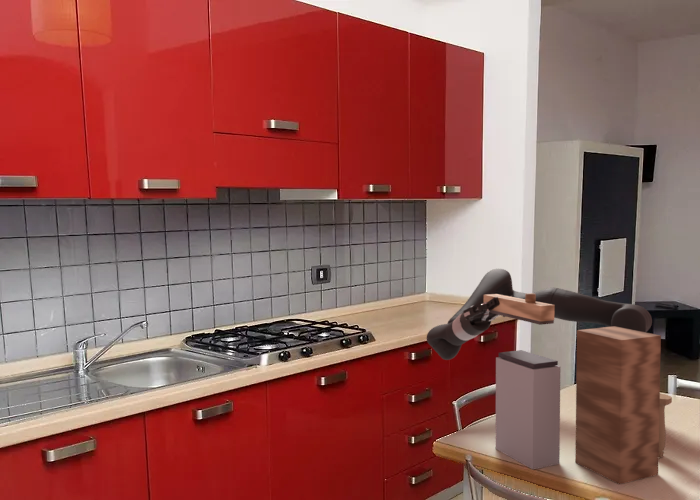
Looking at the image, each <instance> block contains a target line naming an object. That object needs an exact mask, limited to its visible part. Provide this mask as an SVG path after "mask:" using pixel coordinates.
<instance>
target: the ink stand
mask: <svg viewBox="0 0 700 500" xmlns="http://www.w3.org/2000/svg"><path fill="white" fill-rule="evenodd" d="M558 362H559V360H556V359H552V358H550V357H546V356H543V355H539V354H535V353H533V352H529V351H526V350H511V351H503V352H498V357H497V356H496V357H495V450H497V451H499V452H500V453H502V454H504V455H506V456H508V457H510V458H511V459H513V460H515V461H517V462H519V463H520V464H522V465H524V466H526V467H528V468H529V469H531V470H537V469H541V468H546V467H551V466H555V465H559V464H560V457H561V456H560V455H561V454H560V450H561V447H560V446H561V444H560V443H561V442H560V441H561V439H560V438H561V427H560V426H561V366H560V365H558V364H559V363H558Z"/></svg>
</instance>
